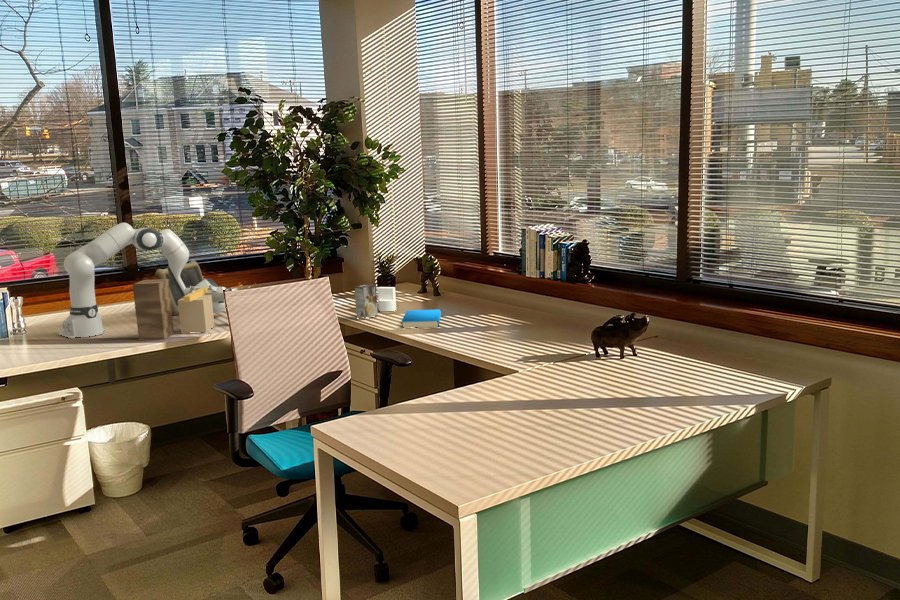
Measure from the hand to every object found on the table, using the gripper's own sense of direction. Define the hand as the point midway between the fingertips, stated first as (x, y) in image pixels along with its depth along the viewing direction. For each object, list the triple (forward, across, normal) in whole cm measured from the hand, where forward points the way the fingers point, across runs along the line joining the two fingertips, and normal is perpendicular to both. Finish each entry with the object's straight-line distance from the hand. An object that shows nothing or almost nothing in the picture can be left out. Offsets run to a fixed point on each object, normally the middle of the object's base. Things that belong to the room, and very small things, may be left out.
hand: (200, 287), depth 408 cm
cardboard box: (-2, 0, +22) cm, 22 cm away
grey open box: (-48, -26, -5) cm, 55 cm away
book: (-5, +107, +20) cm, 109 cm away
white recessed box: (-31, +87, +5) cm, 93 cm away
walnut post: (+7, -16, +27) cm, 32 cm away
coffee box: (-18, +79, +13) cm, 82 cm away
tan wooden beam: (+4, 0, +6) cm, 8 cm away
